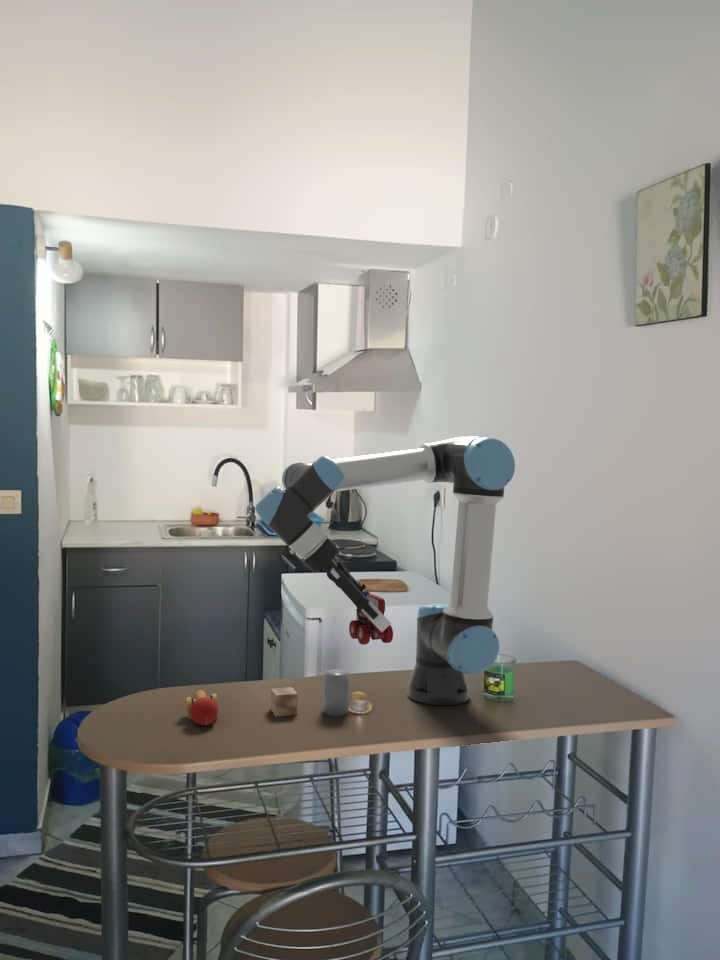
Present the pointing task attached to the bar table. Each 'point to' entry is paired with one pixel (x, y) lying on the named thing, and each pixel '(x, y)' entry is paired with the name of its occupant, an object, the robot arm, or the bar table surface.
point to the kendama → (202, 708)
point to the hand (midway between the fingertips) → (383, 621)
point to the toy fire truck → (370, 624)
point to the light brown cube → (283, 701)
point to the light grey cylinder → (336, 692)
